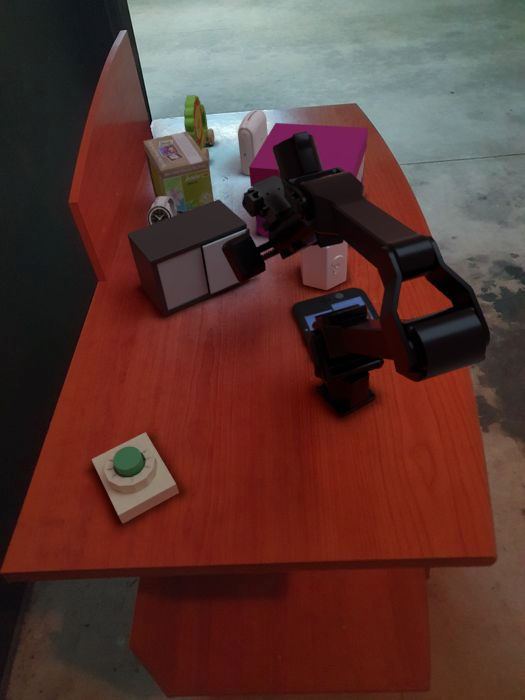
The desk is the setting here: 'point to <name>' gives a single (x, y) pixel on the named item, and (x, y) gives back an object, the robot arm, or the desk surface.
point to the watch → (161, 209)
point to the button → (128, 461)
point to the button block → (136, 480)
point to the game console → (329, 307)
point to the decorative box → (333, 149)
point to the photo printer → (251, 137)
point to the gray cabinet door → (219, 264)
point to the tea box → (179, 171)
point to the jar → (324, 265)
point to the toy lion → (197, 123)
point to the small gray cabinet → (181, 254)
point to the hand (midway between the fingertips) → (262, 253)
